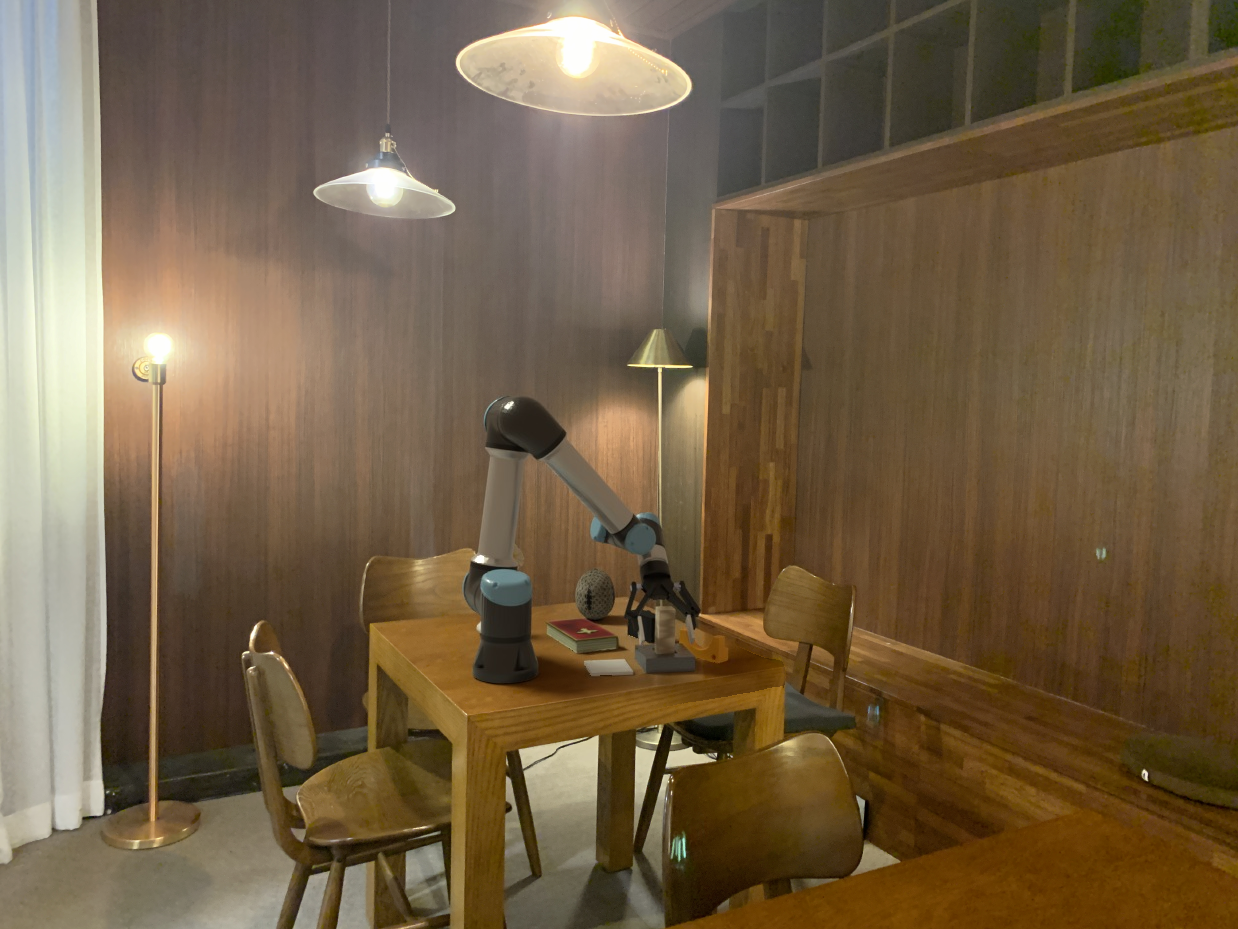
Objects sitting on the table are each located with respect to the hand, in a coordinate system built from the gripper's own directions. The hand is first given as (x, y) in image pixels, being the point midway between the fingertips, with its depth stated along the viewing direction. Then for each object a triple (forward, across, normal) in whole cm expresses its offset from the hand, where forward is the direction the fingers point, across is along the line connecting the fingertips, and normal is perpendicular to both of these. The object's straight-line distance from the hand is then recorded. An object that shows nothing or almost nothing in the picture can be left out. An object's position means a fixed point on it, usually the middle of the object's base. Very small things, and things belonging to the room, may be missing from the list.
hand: (667, 642), depth 215 cm
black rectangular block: (-15, -2, -24) cm, 29 cm away
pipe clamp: (-1, -12, -10) cm, 16 cm away
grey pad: (+4, +14, -5) cm, 16 cm away
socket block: (+3, 0, -6) cm, 7 cm away
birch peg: (+3, 0, -6) cm, 7 cm away
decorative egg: (-30, +9, -40) cm, 51 cm away
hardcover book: (-14, +17, -24) cm, 32 cm away
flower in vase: (-21, +37, -31) cm, 53 cm away
